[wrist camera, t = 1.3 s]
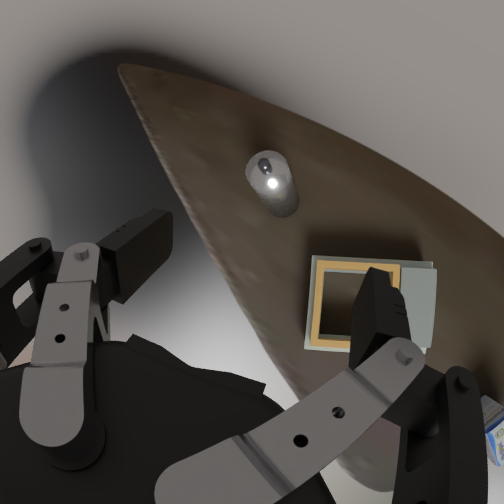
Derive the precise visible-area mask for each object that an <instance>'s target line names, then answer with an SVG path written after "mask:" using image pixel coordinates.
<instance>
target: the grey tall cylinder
mask: <svg viewBox="0 0 504 504" xmlns="http://www.w3.org/2000/svg"><path fill="white" fill-rule="evenodd" d="M246 177H247V179H248V181H249V183H250V184H251V185H252V187H253V188H254V190H255V191H256V192H257V194H258V195H259V197H260V198H261V199H262V201H263V202H264V204H265V205H266V207H267V208H268V209H269V211H270V212H271V213H272V214H273V215H274V216H277V217H280V218H285V217H289V216H291V215H292V214H294V213H295V212H296V210H297V209H298V206H299V197H298V194H297V191H296V188H295V185H294V182H293V179H292V176H291V173H290V170H289V167H288V164H287V161H286V159H285V158H284V157H283V156H282V155H281V154H280V153H278V152H275V151H262V152H259V153H257V154H256V155H254V156H253V157H252V158H251V159H250V160H249V162H248V164H247V166H246Z"/></svg>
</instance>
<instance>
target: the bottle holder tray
mask: <svg viewBox="0 0 504 504" xmlns="http://www.w3.org/2000/svg"><path fill="white" fill-rule="evenodd" d="M370 267H374V268H377V269H380V270H384V271H387V272H389V276H390V281H391V286H393V287H396V288H398V289H399V291H400V292H401V294H402V295H403V297H404V300H405V305H406V308H405V309H406V310H407V317H408V321H409V327H410V333H411V339H412V342H414V343H415V344H416V345H417V346H418V347H419V348H420V349H421V350H422V352H423V354H426V348H431V341H432V333H433V324H434V313H435V300H436V280H437V269H433V262H426V261H407V260H389V259H371V258H352V257H334V256H315V255H312V265H311V279H310V292H309V304H308V315H307V326H306V336H305V345H304V349H311V350H324V351H338V352H350V339H351V336H345V335H329V334H319V329H320V319H321V308H322V296H323V283H324V271H328V272H345V273H364V274H366V273H367V271H368V269H369V268H370Z"/></svg>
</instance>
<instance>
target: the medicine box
mask: <svg viewBox="0 0 504 504" xmlns="http://www.w3.org/2000/svg"><path fill="white" fill-rule="evenodd" d="M481 404H482V411H483V418H484V426H485V435H486V447H487V456H488V458H489V459H490V460H491V461H492V462H493V463H494V464H495V465H496V466H497V467H499V466H500V465H501V464H503V463H504V407H503V406H502V405H500V404H499V403H497V402H495V401H494V400H492V399H491V398H489V397H488V396H486V395H484V396H482V397H481Z"/></svg>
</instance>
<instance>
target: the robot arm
mask: <svg viewBox="0 0 504 504" xmlns="http://www.w3.org/2000/svg"><path fill="white" fill-rule="evenodd" d="M172 246H173V215H172V213H171V212H169V211H165V210H161V209H157V208H153V209H152V210H150V211H149V212H147V213H146V214H144V215H143V216H140V217H137V218H134V219H131V220H129V221H128V222H126V223H125V224H123V225H122V227H119V228H118V229H116V231H113V232H112V233H110V234H109V235H108V236H106V237H105V238H103V239H102V240H101V241H99V242H98V243H96V244H93V243H87V242H86V243H78V244H75V245H73V246H71V247H69V248H68V249H67V250H66V251H65V252H56V251H53V250H52V246H51V241H50V240H49V239H47V238H35V239H32V240H30V241H27V242H26V243H25V244H23V245H22V246H20V247H19V248H18V249H17V250H15V251H14V252H12V253H11V254H10V255H8V256H7V257H6V258H4V259H3V260H2V261H0V504H336V502H335V500H334V499H333V497H332V495H331V493H330V491H329V489H328V487H327V485H326V483H325V482H324V480H323V478H322V476H321V474H320V471H321V470H322V469H324V468H325V467H326V466H327V465H328V464H330V463H331V462H332V461H333V460H335V459H336V458H337V457H338V456H339V455H340V454H342V453H343V452H344V451H345V450H346V449H347V448H348V447H349V446H351V445H352V444H353V443H354V442H355V441H356V440H357V439H358V438H359V437H360V436H361V435H362V434H364V433H365V432H366V431H367V430H368V429H369V428H370V427H371V426H372V425H373V424H374V423H375V422H376V421H377V420H378V419H379V418H380V417H382V418H384V419H386V420H388V421H390V422H392V423H394V424H396V425H398V426H400V427H401V432H400V445H399V455H398V464H397V472H396V480H395V487H394V493H393V499H392V504H487V502H488V466H487V465H488V464H487V447H486V435H485V426H484V418H483V411H482V404H481V398H480V392H479V386H478V383H477V381H476V379H475V377H474V376H473V375H472V374H471V373H470V372H469V371H468V370H467V369H465V368H463V367H459V366H454V367H451V368H450V369H448V371H447V372H446V373H445V374H443V373H441V372H439V371H437V370H435V369H433V368H431V367H429V366H427V365H426V364H425V357H424V354H423V352H422V350H421V349H420V348H419V347H418V346H417V345H416V344H415V343H414V342H412V339H411V333H410V327H409V321H408V317H407V310H406V309H405V308H406V305H405V300H404V297H403V295H402V294H401V292H400V291H399V289H398V288H396V287H393V286H391V281H390V276H389V272H387V271H384V270H380V269H377V268H374V267H370V268H369V269H368V271H367V273H366V276H365V278H364V280H363V283H362V285H361V287H360V290H359V292H358V294H357V297H356V299H355V302H354V305H353V309H352V318H351V339H350V355H349V368H347V369H345V370H344V371H342V372H341V373H340V374H338V375H337V376H336V377H334V378H333V379H331V380H330V381H329V382H327V383H326V384H324V385H323V386H322V387H320V388H319V389H317V390H316V391H314V392H313V393H311V394H310V395H309V396H307V397H306V398H304V399H303V400H301V401H299V402H298V403H296V404H295V405H293V406H292V407H290V408H289V409H287V410H284V409H283V408H282V407H281V406H280V405H278V404H277V403H276V402H275V401H273V400H272V399H270V398H269V397H267V396H266V395H264V394H263V392H264V389H265V386H266V384H265V383H261V382H258V381H254V380H252V379H248V378H245V377H242V376H239V375H236V374H233V373H229V372H222V371H215V370H207V369H201V368H195V367H191V366H189V365H187V364H186V363H184V362H183V361H181V360H180V359H179V358H177V357H176V356H174V355H173V354H172V353H170V352H169V351H167V350H166V349H165V348H163V347H162V346H160V345H157V344H155V343H153V342H150V341H148V340H146V339H143V338H141V337H139V336H137V335H134V334H132V336H131V337H130V338H129V339H128V341H127V342H122V341H110V307H109V302H110V301H111V300H114V301H116V302H118V303H121V304H124V303H125V302H126V301H127V300H128V299H129V298H130V297H131V296H132V295H133V294H134V292H136V291H137V289H138V288H139V287H140V286H141V285H142V284H143V283H144V282H145V281H146V280H147V279H148V278H149V277H150V276H151V275H152V274H153V273H154V272H155V271H156V270H157V269H158V268H159V267H160V266H161V265H162V264H163V263H164V262H165V261H166V260H167V259H168V258H169V256H170V254H171V251H172ZM28 280H29V282H30V285H31V288H32V291H33V293H32V294H31V295H30V296H29V297H28V298H27V299H26V300H25V301H24V302H23V303H22V304H21V305H20V306H19V307H18V308H17V309H15V307H14V305H13V295H14V293H15V292H16V291H17V290H18V288H20V287H21V286H22V285H23V284H24V283H26V282H27V281H28ZM34 337H35V341H34V346H33V352H32V358H31V362H29V363H25V364H21V365H18V366H14V367H11V368H8V367H9V365H10V364H11V363H12V362H13V361H14V359H15V358H16V357H17V356H18V355H19V353H21V351H22V350H23V349H24V348H25V347H26V346H27V345H28V343H29V342H30V341H31V340H32V339H33V338H34Z"/></svg>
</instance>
